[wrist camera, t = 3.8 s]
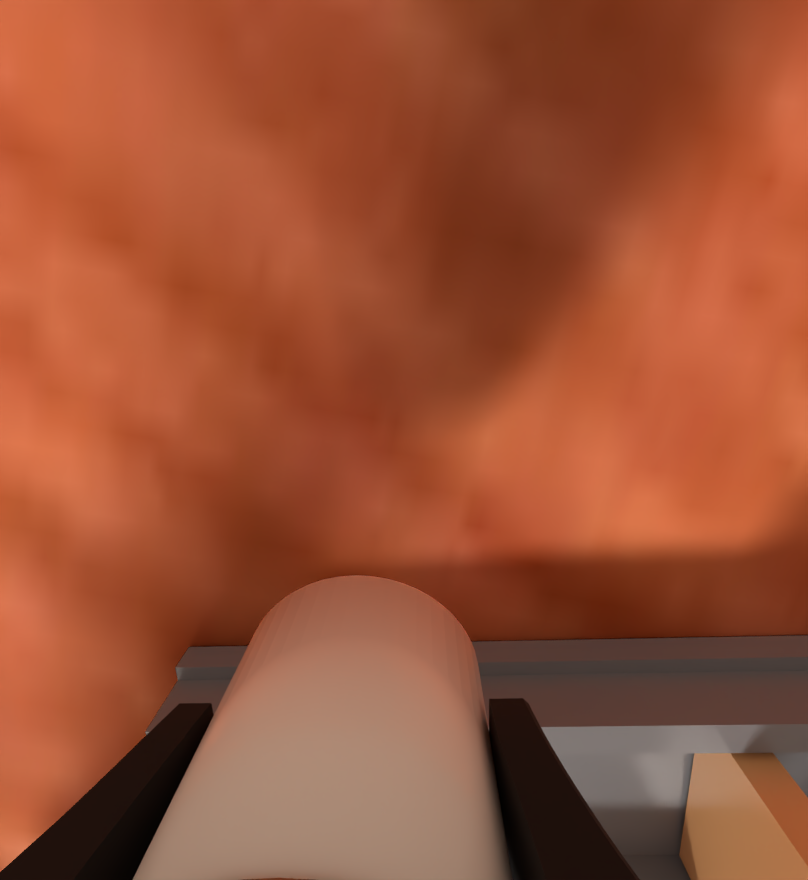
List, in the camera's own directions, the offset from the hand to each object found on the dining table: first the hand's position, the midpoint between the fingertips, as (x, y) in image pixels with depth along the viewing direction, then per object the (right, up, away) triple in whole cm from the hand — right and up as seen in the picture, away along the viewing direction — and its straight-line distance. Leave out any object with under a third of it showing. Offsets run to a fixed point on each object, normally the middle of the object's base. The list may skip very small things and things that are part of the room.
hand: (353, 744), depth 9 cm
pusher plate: (+11, -6, +7) cm, 15 cm away
